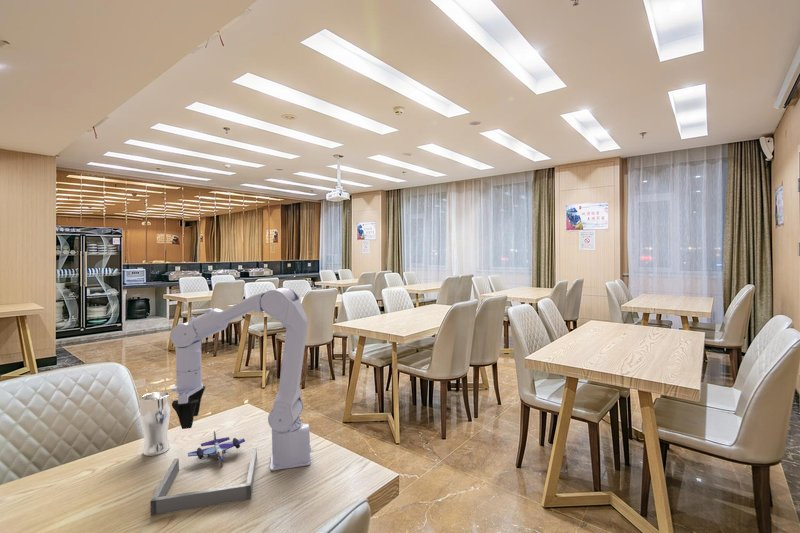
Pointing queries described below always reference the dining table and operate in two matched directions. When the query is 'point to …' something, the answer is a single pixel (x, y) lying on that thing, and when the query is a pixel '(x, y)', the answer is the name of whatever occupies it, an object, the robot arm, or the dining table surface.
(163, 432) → the silver metal cup
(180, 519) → the dining table surface
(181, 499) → the airplane jig
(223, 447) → the toy airplane
